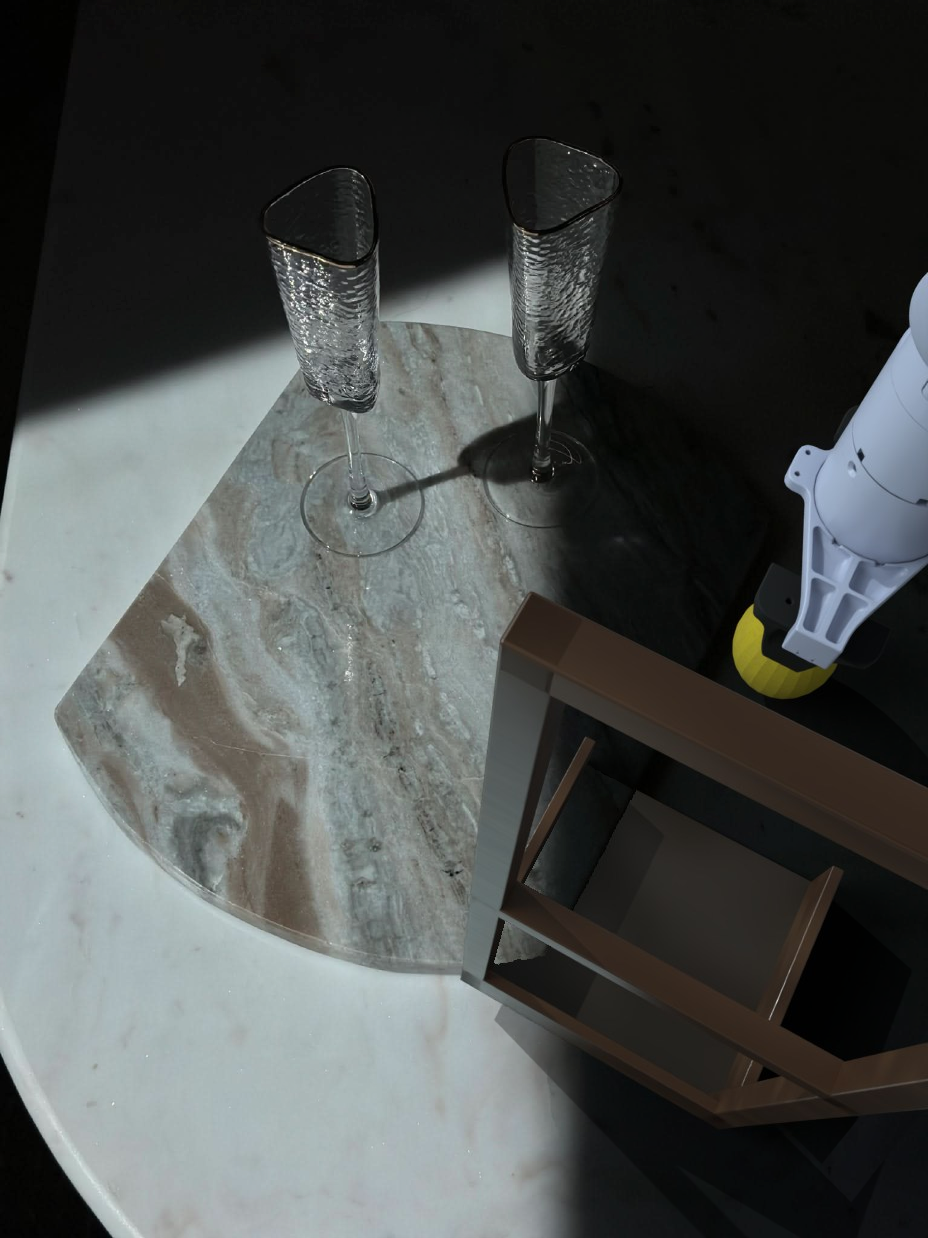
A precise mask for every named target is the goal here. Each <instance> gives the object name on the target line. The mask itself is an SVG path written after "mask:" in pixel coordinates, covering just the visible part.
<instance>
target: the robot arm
mask: <svg viewBox="0 0 928 1238" xmlns="http://www.w3.org/2000/svg"><path fill="white" fill-rule="evenodd" d="M910 299H911V300H910V304H909V312H908V313H909V315H908V317H909V318H908V320H909V327H908V329H906V331H905V332H904V333H903V335H902V337H900V339H899V341H898V343H897V344H896V346H895V348H894V350H893V351H892V353H891V355H890V356H889V357H888V359H887V361H886V363H885V364H884V365H883V367H882V369H881V371H880V372H879V374H878V376H877V377H876V378H875V380H874V382H873V383H872V385H871V386H870V388H869V390H868V392H867V393H866V394H865V396H864V398H863V400H862V401H861V403H860V404H857V405H854V406H852V407H851V408H849V409H848V410H847V411H846V412H845V414H844V416H843V418H842V420H841V421H840V423H839V426H838V428H837V430H836V432H835V434H834V436H833V444H834V446H833V448H831V449H828V450H824V449H821V448H819V447H816V446H814V445H810V444H806V445H803V446H801V447H799V449H798V451H797V452H796V454H795V455H794V458H793V459H792V462H791V463H790V465H789V467H788V469H787V471H786V474H785V475H784V484H785V487H786V488H788V489H789V490H791V491H792V492H794V493H796V494H798V495H800V496H801V498H802V499H803V501H804V502H803V503H804V509H803V511H804V512H803V514H804V515H803V534H802V535H803V536H802V538H803V539H802V541H803V542H802V563H801V565H802V566H801V575H800V574H797V573H796V572H793V571H791V570H789V569H787V568H785V567H783V566H781V565H779V564H777V563H775V562H772V563H770V566H769V567H768V569H767V571H766V573H765V575H764V577H763V579H762V582H761V583H760V585H759V587H758V590H757V592H755V593H756V594H755V596H754V600H753V604H754V605H753V604H752V605H753V615H754V616H755V617H756V618H757V619H758V620H759V621H760V622H761V623H762V625H763V626H764V632H763V637H762V643H761V652H762V655H763V656H765V657H767V658H769V659H771V660H773V661H775V662H777V663H779V664H781V665H783V666H785V667H787V668H789V669H791V670H793V671H795V672H797V673H798V672H802V671H805V670H808V669H811V668H814V667H817V666H820V667H822V668H824V669H827V668H828V667H829V666H830V665H831V664H837V665H841V666H848V667H852V668H854V669H858V670H866V669H867V668H869V667H871V666H872V665H873V664H875V663H876V662H877V661H878V660H879V659H880V657H881V655H882V654H883V651H884V649H885V647H886V645H887V642H888V640H889V637H890V635H891V633H892V631H893V628H892V627H891V626H890V625H888V624H885V623H883V622H881V621H880V620H878V619H875V618H873V617H871V616H872V615H873V614H874V613H875V612H876V611H877V610H878V609H879V608H881V607H882V606H883V604H885V603H886V602H888V600H890V598H892V597H893V596H894V595H895V594H896V593H897V592H898V591H899V590H900V589H901V588H903V587H904V586H905V585H906V584H907V583H908V582H909V581H911V579H913V578H914V577H915V576H916V575H917V574H918V573H919V572H920V571H922V570H923V568H925V567H926V566H927V565H928V272H926V274H925V275H924V276H923V277H922V278H921V279H920V281H919V282H918V284H917V286H916V287H915V289H914V292H913V293H912V296H911V298H910Z"/></svg>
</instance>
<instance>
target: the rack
mask: <svg viewBox="0 0 928 1238" xmlns="http://www.w3.org/2000/svg"><path fill="white" fill-rule="evenodd" d="M494 678H495V679H494V687H493V696H492V703H491V704H492V705H491V714H490V722H489V729H488V730H489V731H488V739H487V748H486V749H487V750H486V757H485V765H484V774H483V780H482V781H483V782H482V792H481V799H480V808H479V816H478V817H479V818H478V825H477V834H476V843H475V852H474V861H473V869H472V877H471V879H472V880H471V886H470V893H469V903H468V910H467V912H468V913H467V921H466V928H465V929H466V930H465V938H464V939H465V940H464V946H463V955H462V964H461V969H460V977H459V980H460V981H461V982H463V983H464V984H466V985H469V986H470V987H472V988H474V989H475V990H477V991H478V992H480V993H481V994H484V995H485V996H487V997H489V998H491V999H492V1000H495V1002H497V1003H498V1004H501V1005H503V1006H505V1007H506V1008H507V1009H510V1010H512V1011H513V1012H515V1013H517V1014H518V1015H520V1016H522V1017H523V1018H524V1019H527V1020H529V1021H530V1022H532V1023H534V1024H536V1025H538V1026H539V1027H541V1028H542V1029H544V1030H546V1031H547V1032H550V1033H551V1034H553V1035H555V1036H556V1037H558V1038H560V1039H561V1040H563V1041H565V1042H566V1043H568V1044H570V1045H572V1046H574V1047H575V1048H577V1049H578V1050H581V1051H582V1052H584V1053H586V1054H587V1055H589V1056H591V1057H593V1059H596V1060H598V1061H600V1062H601V1063H603V1064H604V1065H606V1066H608V1067H610V1068H612V1069H613V1070H615V1071H617V1072H618V1073H620V1074H622V1075H624V1076H625V1077H627V1078H629V1079H630V1080H632V1081H634V1082H636V1083H638V1084H639V1085H641V1086H643V1087H644V1088H646V1089H648V1090H650V1091H651V1092H653V1093H655V1094H656V1095H658V1096H659V1097H662V1098H663V1099H666V1100H667V1101H669V1102H670V1103H672V1104H674V1105H676V1106H677V1107H679V1108H681V1109H683V1110H685V1112H687V1113H689V1114H691V1115H692V1116H694V1117H697V1118H698V1119H700V1120H701V1121H704V1122H705V1123H707V1124H708V1125H710V1126H712V1127H713V1128H715V1129H717V1130H724V1129H734V1128H741V1127H753V1126H763V1125H772V1124H773V1125H774V1124H784V1123H793V1122H804V1121H805V1122H806V1121H814V1120H824V1119H835V1118H836V1119H837V1118H846V1117H860V1116H861V1117H862V1116H865V1115H866V1116H867V1115H868V1116H869V1115H877V1114H886V1113H887V1114H889V1113H900V1112H908V1111H920V1110H928V1042H923V1043H919V1044H915V1045H909V1046H906V1047H901V1048H898V1049H894V1050H888V1051H885V1052H880V1053H876V1054H871V1055H866V1056H863V1057H859V1058H854V1059H850V1060H846V1061H844V1060H843V1059H841V1058H839V1057H837V1056H836V1055H834V1054H832V1053H830V1052H828V1051H827V1050H826V1049H825V1050H824V1049H823V1048H821V1047H819V1046H818V1045H816V1044H814V1043H812V1042H810V1041H808V1040H806V1038H805V1039H804V1037H802V1036H799V1034H795V1033H794V1032H792V1031H791V1030H788V1029H787V1028H785V1027H783V1026H781V1025H782V1023H783V1022H784V1021H783V1020H784V1019H785V1015H786V1014H787V1010H788V1009H789V1006H790V1004H791V1001H792V999H793V996H794V994H795V991H796V989H797V987H798V984H799V982H800V980H801V977H802V974H803V972H804V970H805V968H806V965H807V962H808V960H809V958H810V955H811V953H812V950H813V948H814V945H815V943H816V941H817V938H818V936H819V933H820V931H821V928H822V926H823V923H824V922H825V919H826V916H827V913H828V911H829V909H830V906H831V904H832V902H833V899H834V897H835V895H836V892H837V890H838V888H839V887H838V886H839V885H840V882H841V880H842V877H843V875H844V874H845V870H843V869H841V868H840V867H838V866H836V865H832V866H830V867H829V868H828V869H827V870H826V871H824V872H822V873H821V874H820V875H818V876H817V877H816V878H814V879H813V880H809V879H807V878H806V877H803V876H801V875H799V874H797V872H794V871H791V870H790V869H788V868H786V867H784V866H782V865H781V864H779V863H776V862H775V861H772V860H771V859H769V858H767V857H765V856H763V855H762V854H760V853H757V852H756V851H753V850H752V849H750V848H748V847H746V846H744V845H742V844H740V843H738V842H737V841H734V840H733V839H731V838H729V837H728V836H725V835H723V834H721V833H719V832H717V831H715V830H714V829H711V828H710V827H708V826H706V825H704V824H703V823H700V822H699V821H697V820H694V819H693V818H691V817H689V816H687V815H685V814H684V813H682V812H679V811H678V810H676V809H674V808H671V807H670V806H668V805H666V804H664V803H663V802H660V801H658V800H656V799H654V798H652V797H651V796H649V795H647V794H646V793H643V792H642V791H640V790H637V789H636V792H635V794H634V795H633V798H632V800H630V802H629V804H628V806H627V809H626V811H625V813H624V814H623V817H622V818H621V820H619V823H618V824H617V826H616V829H615V830H614V832H613V834H612V837H611V838H610V840H609V843H608V845H607V846H606V850H605V852H604V853H603V855H602V856H601V858H600V859H599V861H598V864H597V866H596V867H595V869H594V872H593V873H592V876H591V877H590V879H589V883H588V884H587V885H586V888H585V889H584V891H583V893H582V894H581V896H580V898H579V899H578V902H577V904H576V905H575V907H574V910H573V911H572V910H570V909H568V908H567V907H565V906H563V905H561V904H559V903H557V902H556V901H554V900H552V899H550V898H548V897H547V896H545V895H543V894H541V893H539V892H538V891H536V890H534V889H532V888H530V887H529V886H527V885H525V884H524V883H525V881H526V879H527V877H528V875H529V873H530V871H531V870H532V868H533V866H534V864H535V862H536V860H537V858H538V856H539V854H540V852H541V851H542V849H543V847H544V845H545V843H546V841H547V839H548V838H549V836H550V834H551V832H552V830H553V828H554V826H555V824H556V822H557V820H558V819H559V817H560V815H561V813H562V811H563V809H564V807H565V805H566V803H567V802H568V800H569V798H570V796H571V794H572V792H573V790H574V788H575V787H576V785H577V783H578V781H579V779H580V777H581V775H582V773H583V771H584V769H585V768H586V766H587V764H588V765H589V761H590V759H591V756H592V754H593V751H594V749H595V745H596V743H597V741H596V740H594V739H592V738H590V737H588V736H585V737H584V738H583V740H582V742H581V744H580V745H579V747H578V749H577V751H576V753H575V755H574V757H573V758H572V761H571V763H570V764H569V766H568V768H567V770H566V772H565V774H564V776H563V778H562V779H561V781H560V783H559V785H558V787H557V789H556V791H555V793H554V795H553V796H552V798H551V800H550V801H549V803H548V806H547V807H546V809H545V811H544V813H543V815H542V816H541V818H540V820H539V822H538V824H537V825H536V827H535V830H534V831H533V833H532V835H531V836H530V834H531V831H532V827H533V824H534V820H535V816H536V812H537V809H538V805H539V802H540V798H541V794H542V790H543V787H544V785H545V780H546V777H547V773H548V770H549V766H550V762H551V759H552V755H553V751H554V747H555V744H556V740H557V736H558V733H559V730H560V725H561V723H562V718H563V716H564V713H565V712H564V711H565V708H566V705H569V706H570V707H572V708H574V709H576V710H578V711H580V712H581V713H584V714H586V715H587V716H590V717H592V718H593V719H595V720H598V721H600V722H602V723H603V724H605V725H607V726H609V727H611V728H613V729H615V730H617V731H619V732H620V733H623V734H625V735H627V736H629V737H630V738H632V739H634V740H636V741H638V742H640V743H642V744H644V745H646V746H648V747H650V748H652V749H654V750H656V751H657V752H660V753H661V754H663V755H665V756H667V757H669V758H671V759H673V760H675V761H676V762H679V763H681V764H683V765H685V766H687V767H689V768H690V769H692V770H694V771H696V772H699V773H700V774H702V775H704V776H706V777H707V778H710V779H712V780H714V781H716V782H718V783H720V784H721V785H724V786H726V787H728V788H729V789H731V790H733V791H735V792H737V793H739V794H740V795H742V796H745V797H747V798H749V799H750V800H752V801H755V802H756V803H758V804H760V805H762V806H764V807H766V808H768V809H770V810H772V811H774V812H776V813H777V814H779V815H782V816H783V817H786V818H787V819H789V820H792V821H793V822H795V823H797V824H799V825H801V826H803V827H805V828H808V830H811V831H812V832H814V833H816V834H818V835H820V836H822V837H824V838H826V839H828V840H830V841H832V842H834V843H836V844H838V845H840V846H842V847H843V848H845V849H848V850H849V851H851V852H853V853H855V854H857V855H859V856H861V857H863V858H865V859H867V860H869V861H871V862H873V863H875V864H876V865H879V866H880V867H882V868H884V869H886V870H888V871H890V872H892V873H894V874H896V875H898V876H900V877H901V878H904V879H905V880H907V881H909V882H911V883H914V884H915V885H918V886H919V887H920V888H923V889H925V890H927V891H928V787H926V786H924V785H923V784H921V783H919V782H916V781H914V780H913V779H911V778H908V777H906V776H904V775H902V774H900V773H899V772H896V771H895V770H892V769H890V768H888V767H886V766H884V765H882V764H880V763H878V762H876V761H875V760H872V759H870V758H868V757H866V756H865V755H862V754H860V753H858V752H857V751H854V750H852V749H850V748H848V747H846V746H844V745H842V744H840V743H838V742H837V741H834V740H832V739H831V738H828V737H826V736H824V735H822V734H821V733H818V732H816V731H813V730H812V729H810V728H808V727H806V726H804V725H802V724H800V723H798V722H796V721H794V720H792V719H790V718H788V717H786V716H784V715H782V714H780V713H778V712H776V711H774V710H772V709H770V708H768V707H765V706H764V705H762V704H760V703H757V702H756V701H754V700H752V699H750V698H747V697H746V696H744V695H742V694H740V693H738V692H736V691H734V690H731V689H730V688H727V687H726V686H724V685H722V684H720V683H717V682H716V681H714V680H712V679H710V678H708V677H706V676H704V675H701V674H700V673H697V672H695V671H694V670H691V669H690V668H688V667H685V666H684V665H682V664H679V663H678V662H675V661H674V660H671V659H670V658H667V656H663V655H661V654H659V653H657V652H655V651H654V650H651V649H649V648H648V647H645V646H643V645H642V644H639V643H637V642H636V641H633V640H631V639H629V638H627V637H626V636H623V635H621V634H619V633H617V632H616V631H613V630H611V629H609V628H607V627H606V626H604V625H601V624H599V623H597V622H595V621H593V620H591V619H589V618H588V617H585V616H584V615H581V614H579V613H577V612H575V611H574V610H571V609H569V608H567V607H565V606H563V605H562V604H560V603H558V602H556V601H554V600H552V599H549V598H547V597H546V596H544V595H541V594H539V593H537V592H536V591H531V590H530V591H529V592H527V593H526V595H525V597H523V600H522V602H520V605H519V607H518V608H517V610H516V612H515V613H514V615H513V616H512V619H511V620H510V622H509V623H508V625H507V626H506V628H505V630H504V632H503V634H502V635H501V637H500V638H499V645H498V652H497V661H496V670H495V677H494ZM529 838H530V839H529ZM505 921H506V922H508V923H510V924H512V925H513V926H515V927H517V928H519V929H521V930H522V931H524V932H526V933H528V934H529V935H531V936H533V937H535V938H537V939H538V940H540V941H542V942H544V943H545V944H547V945H549V946H551V948H549V949H548V951H547V952H546V954H545V956H542V957H541V956H538V957H535V958H533V959H527V960H521V959H517V960H514V961H513V962H508V963H500V964H499V965H498V964H495V963H494V960H495V957H496V953H497V949H498V946H499V942H500V939H501V935H502V931H503V928H504V924H505ZM764 1068H766V1069H768V1070H769V1071H770V1072H773V1073H774V1074H776V1075H778V1076H777V1077H772V1078H768V1079H764V1080H759V1079H760V1076H761V1074H762V1071H763V1069H764Z"/></svg>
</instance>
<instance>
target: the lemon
mask: <svg viewBox="0 0 928 1238" xmlns="http://www.w3.org/2000/svg"><path fill="white" fill-rule="evenodd" d="M753 605H754V603H753V604H751V605H750V606H749V607H748V608H747V609H746V610H745V612H744V614H743V615H742V617H741V618H740V620H739V621H738V623H737V624H736V628H735V631H734V634H733V639H732V657H733V662H734V665H735V668H736V670H737V671H738V674H739V675H740V677H741V679H742V680H743V681H744V682H745V683H746V684H747V685H748V686H749V687H750V688H751V689H753V690H755V691H756V692H757V693H759V694H762V695H764V696H767V697H769V698H772V699H779V700H788V699H797V698H799V697H803V696H805V695H809V694H811V693H812V692H814V691H815V690H817V689H818V688H820V687H821V686H822V685H824V684H825V683H826V682H827V681H828V679H829V678H830V677H831V676H832V674H833V673H834V672H835V670H836V668H837V667H838V664H831V665H830V666H829V667H828V668H827V669H824V668H822V667H820V666H817V667H814V668H811V669H808V670H805V671H802V672H798V673H797V672H795V671H793V670H791V669H789V668H787V667H785V666H783V665H781V664H779V663H777V662H775V661H773V660H771V659H769V658H767V657H765V656H763V655H762V652H761V643H762V637H763V632H764V626H763V625H762V623H761V622H760V621H759V620H758V619H757V618H756V617H755V616H754V615H753Z"/></svg>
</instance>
